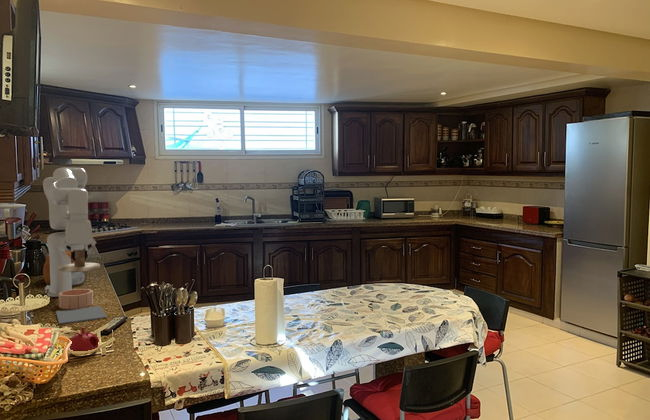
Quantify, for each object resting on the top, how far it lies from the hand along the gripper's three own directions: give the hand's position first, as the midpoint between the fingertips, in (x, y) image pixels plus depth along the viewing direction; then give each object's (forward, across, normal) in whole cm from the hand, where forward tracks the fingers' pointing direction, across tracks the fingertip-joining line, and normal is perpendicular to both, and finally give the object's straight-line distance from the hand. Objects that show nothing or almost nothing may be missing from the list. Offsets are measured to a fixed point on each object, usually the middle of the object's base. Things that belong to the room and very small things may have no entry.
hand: (79, 259), depth 211 cm
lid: (+4, 0, 0) cm, 4 cm away
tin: (+25, +2, +65) cm, 69 cm away
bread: (+25, -2, +84) cm, 87 cm away
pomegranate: (+25, -4, -50) cm, 56 cm away
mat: (+24, 0, 0) cm, 24 cm away
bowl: (+24, 0, +20) cm, 32 cm away
